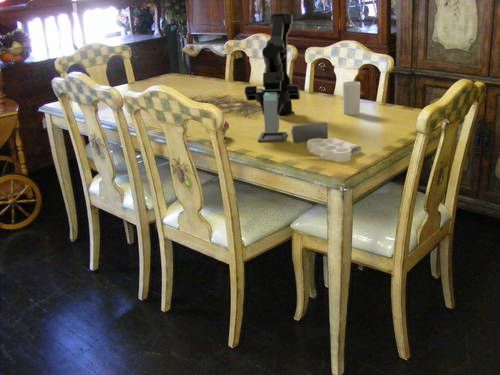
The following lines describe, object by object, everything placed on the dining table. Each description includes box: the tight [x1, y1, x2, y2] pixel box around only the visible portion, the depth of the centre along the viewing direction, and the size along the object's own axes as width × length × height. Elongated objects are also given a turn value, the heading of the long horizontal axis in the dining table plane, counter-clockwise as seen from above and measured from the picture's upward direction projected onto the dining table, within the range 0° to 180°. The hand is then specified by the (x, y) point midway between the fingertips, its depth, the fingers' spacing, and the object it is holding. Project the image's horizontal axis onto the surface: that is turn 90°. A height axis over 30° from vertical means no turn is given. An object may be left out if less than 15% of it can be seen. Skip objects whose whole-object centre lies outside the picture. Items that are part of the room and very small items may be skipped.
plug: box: [263, 92, 280, 132], centre depth 208 cm, size 4×4×13 cm
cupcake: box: [205, 104, 230, 138], centre depth 213 cm, size 9×8×12 cm
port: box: [290, 121, 329, 144], centre depth 209 cm, size 10×12×6 cm
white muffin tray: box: [306, 137, 363, 163], centre depth 193 cm, size 3×18×15 cm
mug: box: [342, 80, 361, 116], centre depth 236 cm, size 10×7×12 cm, turn 17°
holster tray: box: [257, 131, 288, 143], centre depth 211 cm, size 9×9×1 cm
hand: (270, 114), depth 206 cm, fingers closed on plug, 4 cm apart
